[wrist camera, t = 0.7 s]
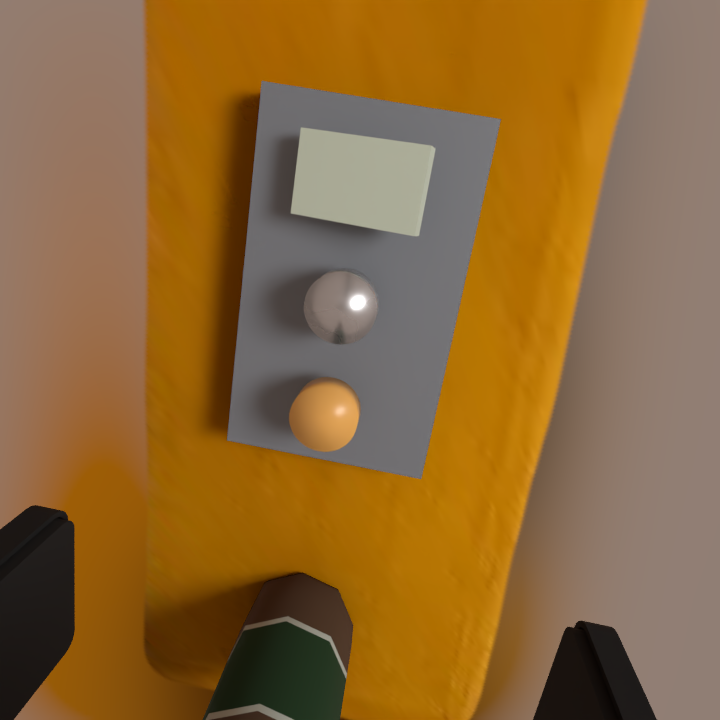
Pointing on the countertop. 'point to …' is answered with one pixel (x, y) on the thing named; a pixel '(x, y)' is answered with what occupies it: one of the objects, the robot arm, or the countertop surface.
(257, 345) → the panel
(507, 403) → the countertop surface
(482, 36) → the countertop surface
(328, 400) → the button orange
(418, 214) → the block
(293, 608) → the beer bottle
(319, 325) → the button metal
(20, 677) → the robot arm
